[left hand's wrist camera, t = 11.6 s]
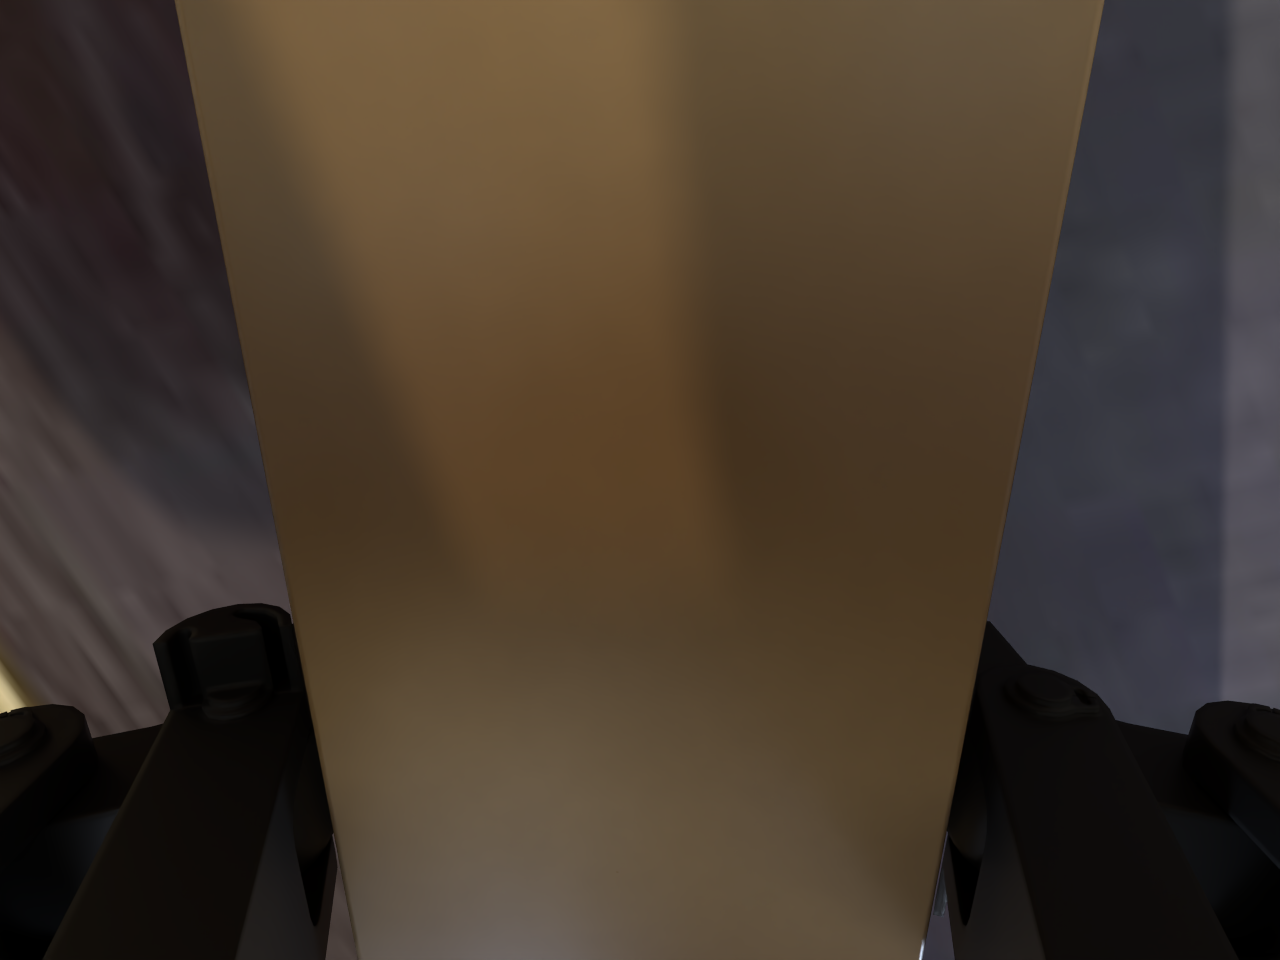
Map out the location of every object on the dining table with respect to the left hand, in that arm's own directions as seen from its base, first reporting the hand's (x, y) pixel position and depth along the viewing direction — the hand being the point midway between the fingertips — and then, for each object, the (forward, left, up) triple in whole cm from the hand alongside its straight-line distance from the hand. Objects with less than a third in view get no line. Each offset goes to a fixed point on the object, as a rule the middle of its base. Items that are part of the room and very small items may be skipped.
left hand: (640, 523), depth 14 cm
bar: (+6, -8, -1) cm, 10 cm away
